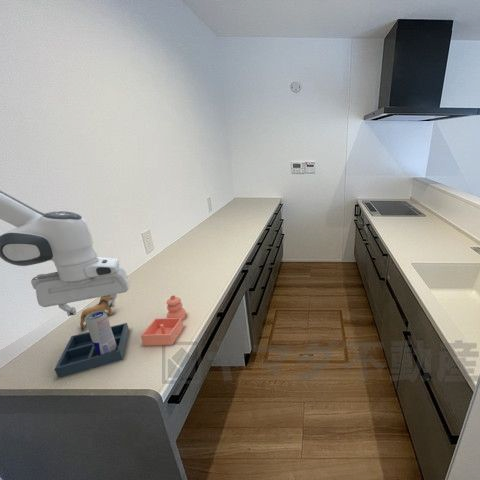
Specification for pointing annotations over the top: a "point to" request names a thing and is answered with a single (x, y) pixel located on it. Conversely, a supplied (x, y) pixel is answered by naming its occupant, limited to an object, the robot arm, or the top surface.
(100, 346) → the beverage can
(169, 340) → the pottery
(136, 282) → the top surface
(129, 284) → the robot arm
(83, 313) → the lion figurine
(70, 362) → the grid
